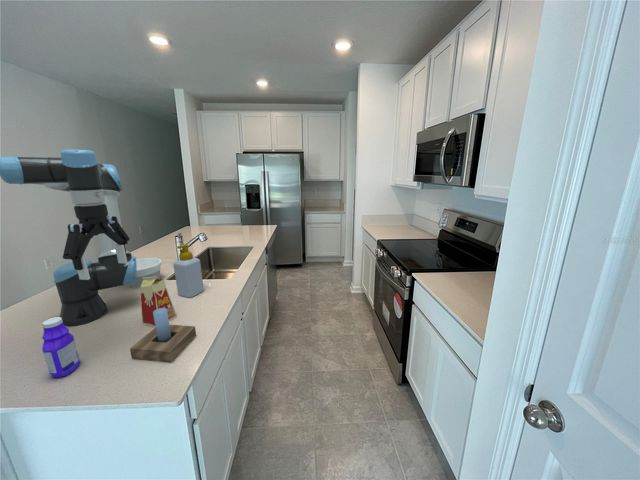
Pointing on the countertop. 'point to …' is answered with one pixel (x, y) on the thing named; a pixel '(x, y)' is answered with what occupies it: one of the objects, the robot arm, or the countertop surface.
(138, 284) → the bowl
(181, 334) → the socket block
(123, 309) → the countertop surface
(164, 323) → the peg
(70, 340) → the bottle
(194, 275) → the soap bottle
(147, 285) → the milk carton
